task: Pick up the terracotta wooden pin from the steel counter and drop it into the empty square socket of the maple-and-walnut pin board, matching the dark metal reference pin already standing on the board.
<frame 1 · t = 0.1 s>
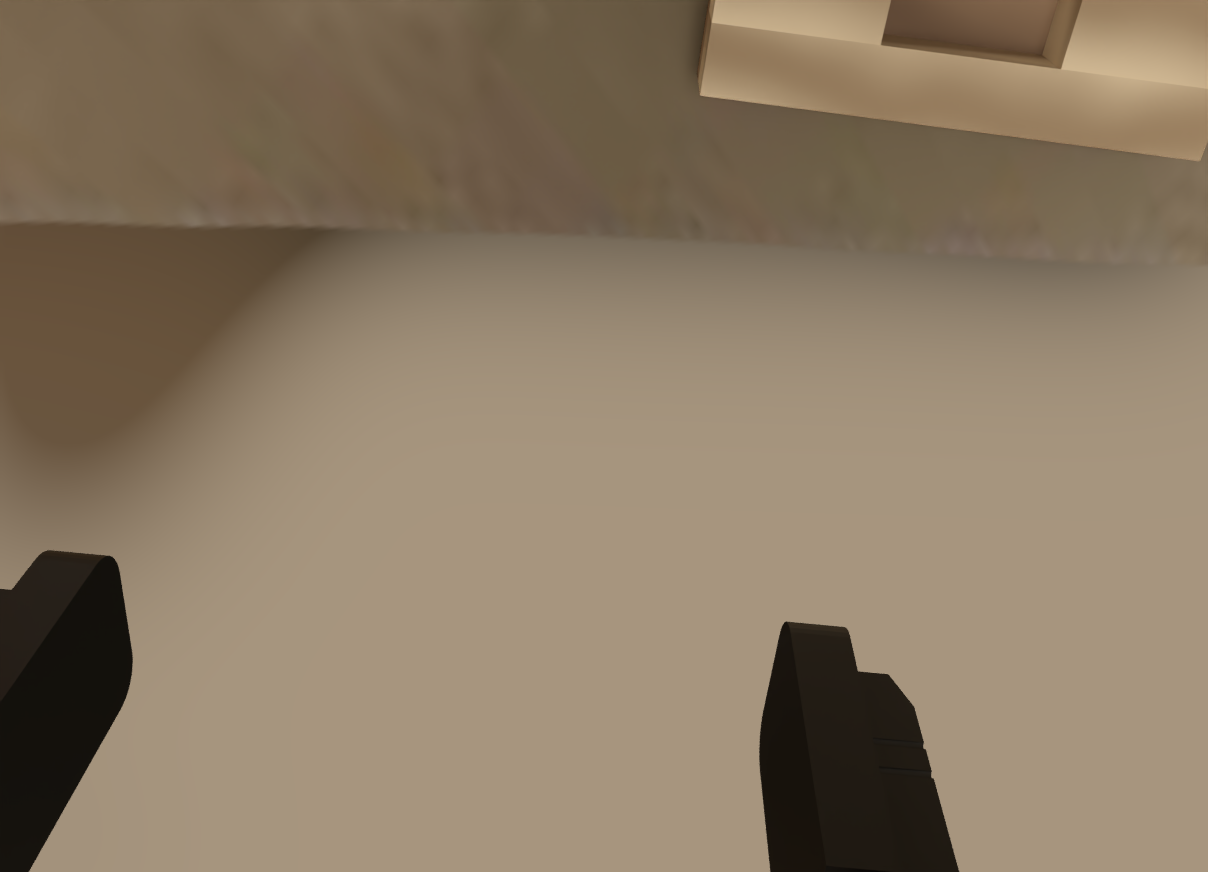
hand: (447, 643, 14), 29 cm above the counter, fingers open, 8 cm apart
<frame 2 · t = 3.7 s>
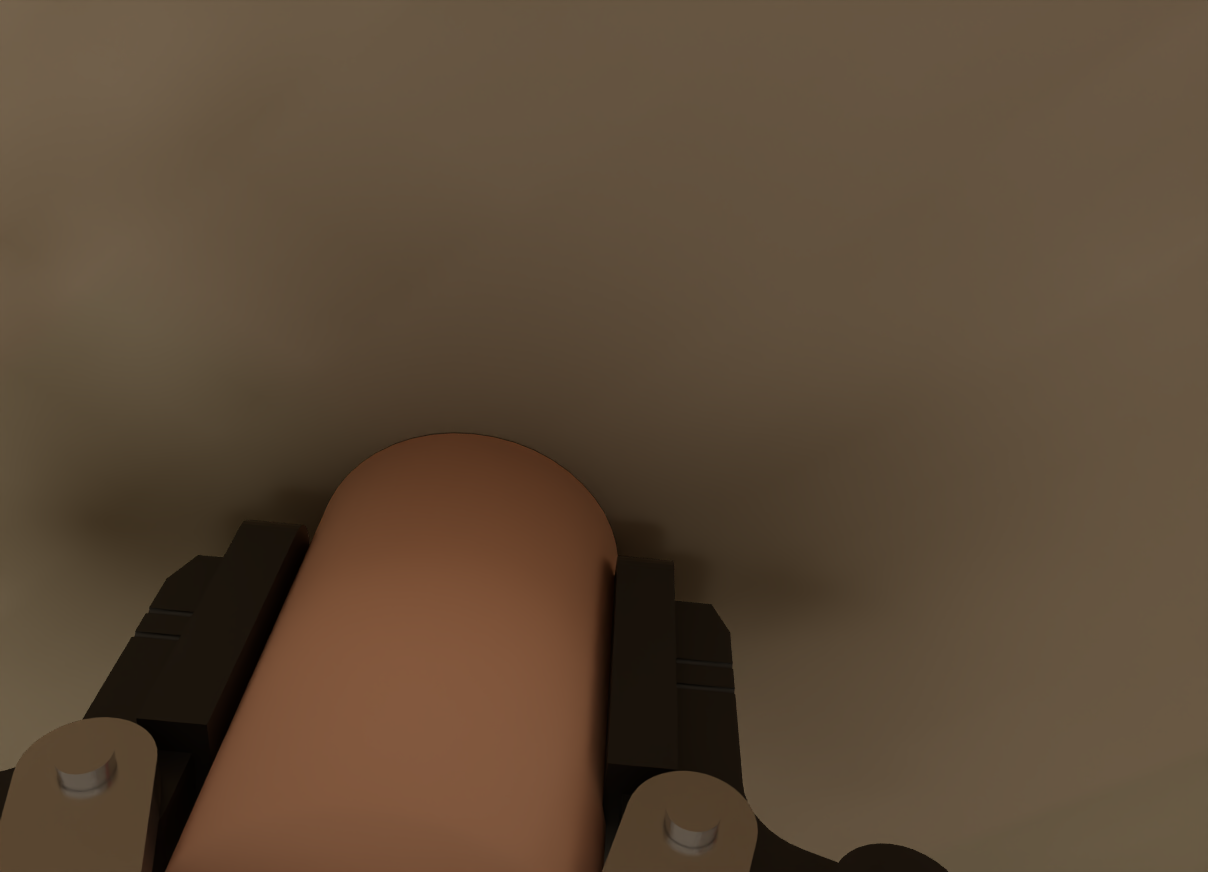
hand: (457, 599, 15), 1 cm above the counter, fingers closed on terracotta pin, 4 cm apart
terracotta pin: (468, 562, 15), on the counter, touching gripper
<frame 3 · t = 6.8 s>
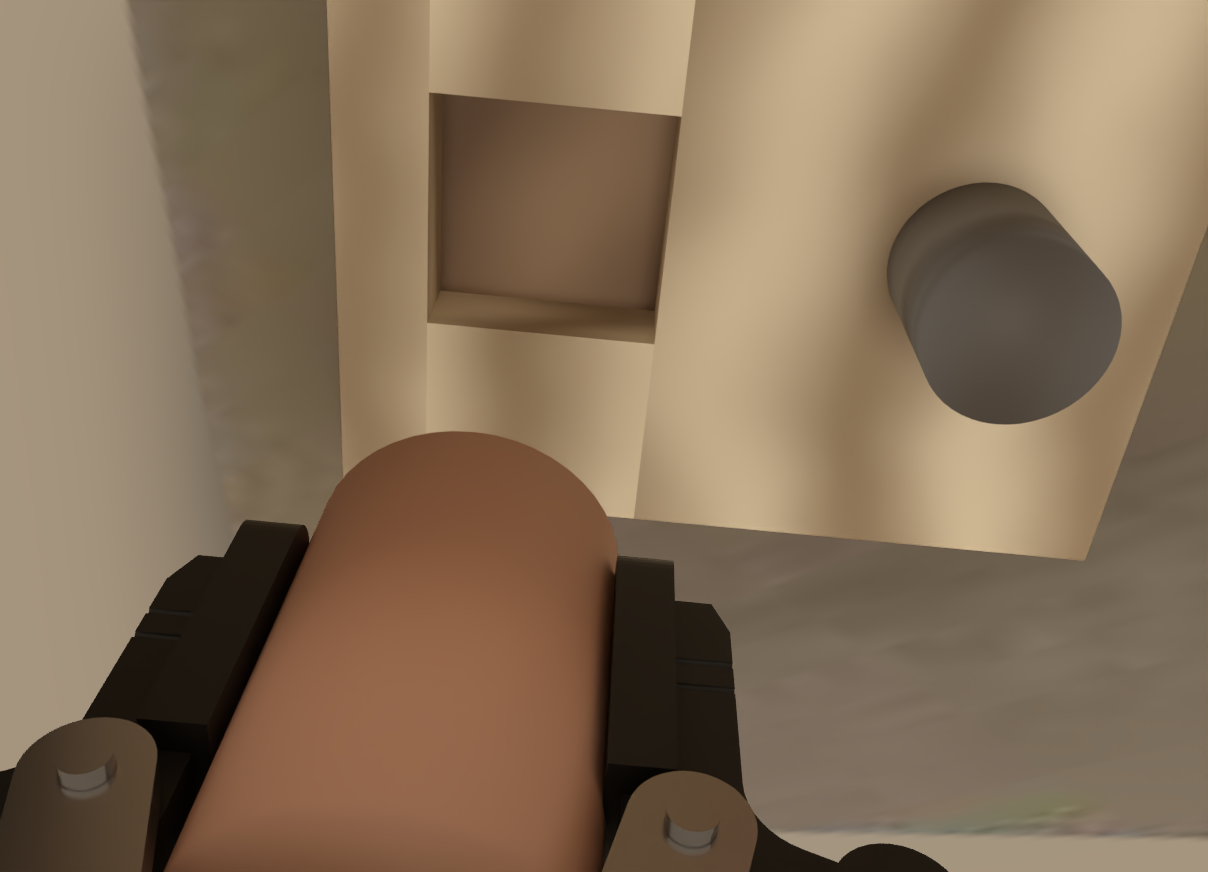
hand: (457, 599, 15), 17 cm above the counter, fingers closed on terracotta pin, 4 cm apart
pin board: (751, 203, 30), on the counter
terracotta pin: (468, 560, 15), point 16 cm above the counter, touching gripper
when the fingers open (4 cm above the counter, at t = 9.9 s): terracotta pin drops 2 cm, resting on pin board.
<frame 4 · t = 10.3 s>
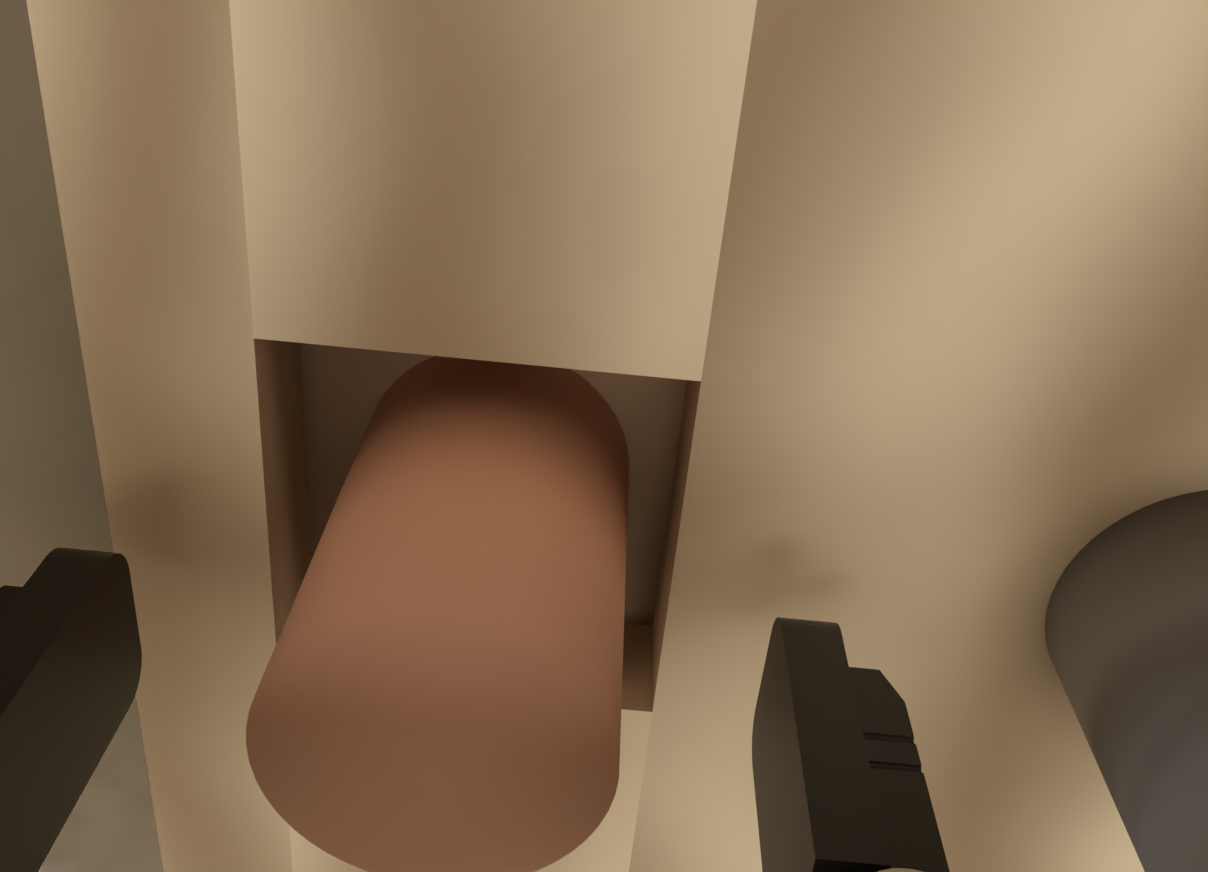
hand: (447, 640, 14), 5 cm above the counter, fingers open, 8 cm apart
pin board: (809, 462, 18), on the counter
terracotta pin: (497, 464, 18), point 1 cm above the counter, touching pin board
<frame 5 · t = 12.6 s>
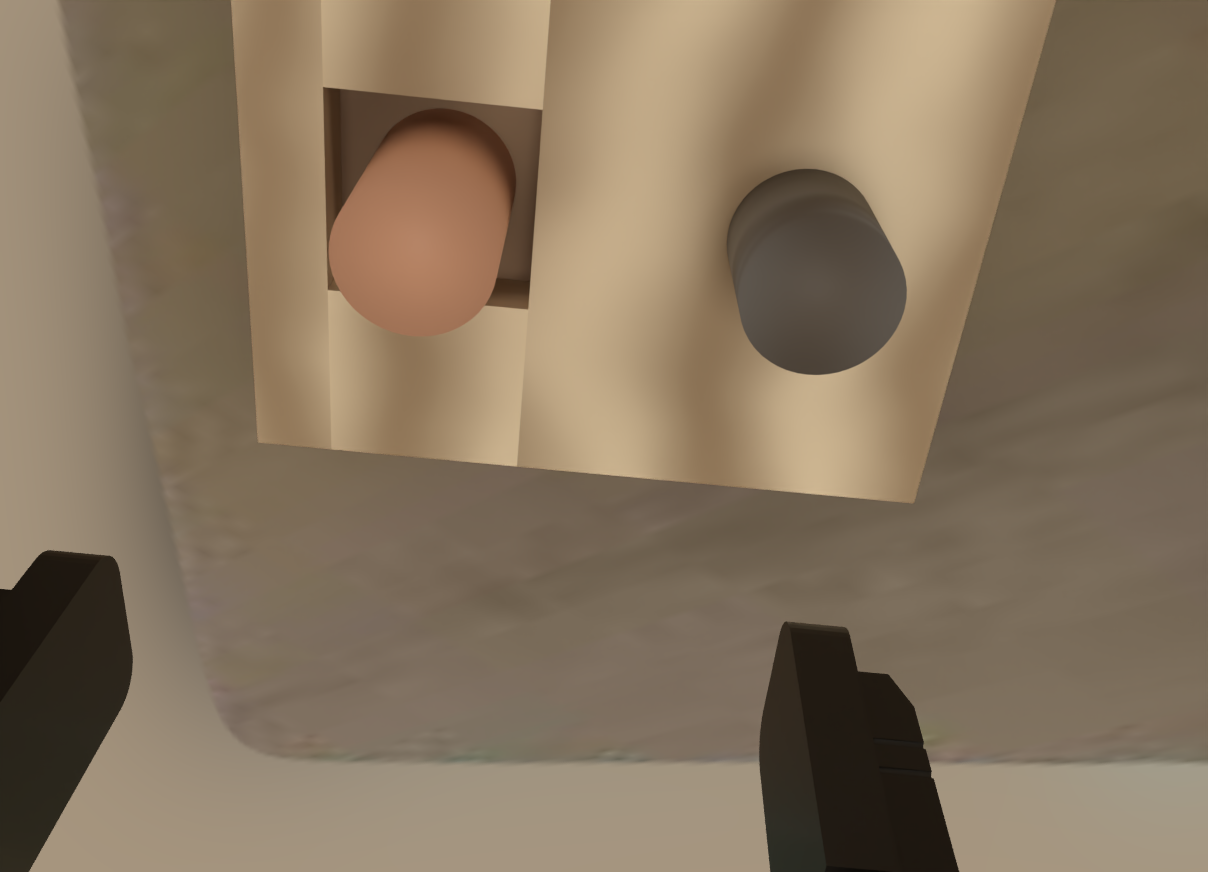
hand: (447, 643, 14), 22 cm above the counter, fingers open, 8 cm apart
pin board: (617, 186, 34), on the counter
terracotta pin: (445, 179, 33), point 1 cm above the counter, touching pin board
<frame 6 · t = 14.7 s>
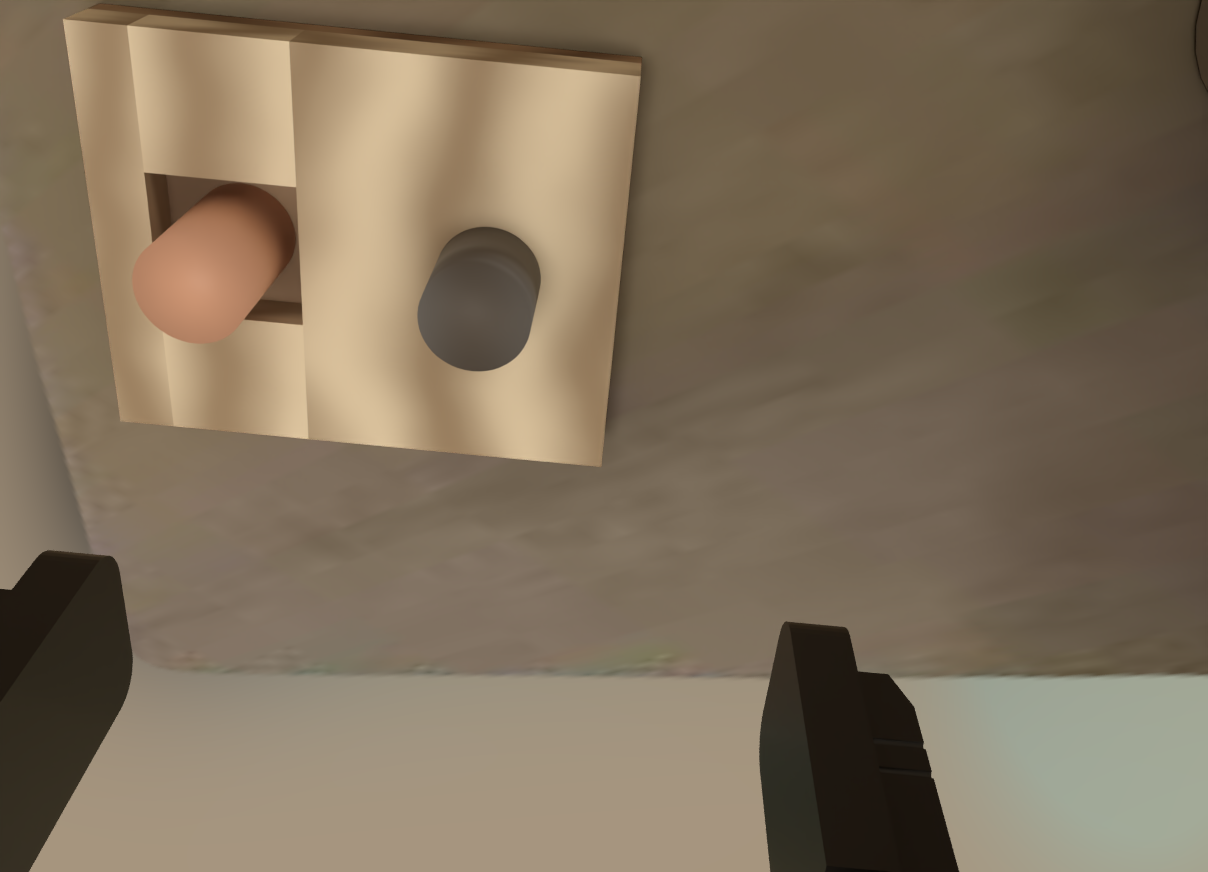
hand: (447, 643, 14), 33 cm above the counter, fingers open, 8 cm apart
pin board: (374, 236, 47), on the counter
terracotta pin: (245, 232, 46), point 1 cm above the counter, touching pin board
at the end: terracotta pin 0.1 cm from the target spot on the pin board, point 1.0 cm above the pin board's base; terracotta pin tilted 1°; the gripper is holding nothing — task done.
